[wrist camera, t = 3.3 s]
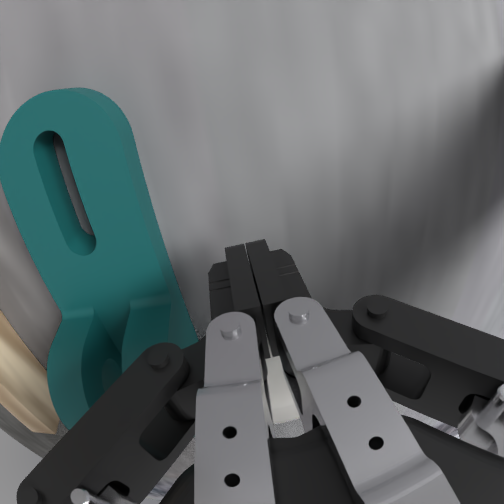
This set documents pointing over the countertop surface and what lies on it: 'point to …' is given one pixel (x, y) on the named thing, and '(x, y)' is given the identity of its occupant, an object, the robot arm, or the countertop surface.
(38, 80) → the countertop surface
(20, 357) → the batten
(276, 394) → the rounded smooth part
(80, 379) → the bracket
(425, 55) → the countertop surface
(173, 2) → the countertop surface
